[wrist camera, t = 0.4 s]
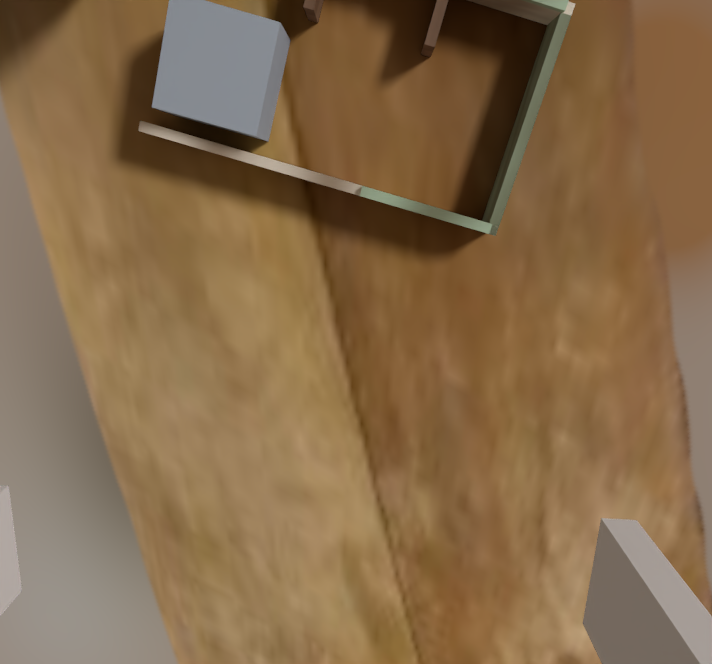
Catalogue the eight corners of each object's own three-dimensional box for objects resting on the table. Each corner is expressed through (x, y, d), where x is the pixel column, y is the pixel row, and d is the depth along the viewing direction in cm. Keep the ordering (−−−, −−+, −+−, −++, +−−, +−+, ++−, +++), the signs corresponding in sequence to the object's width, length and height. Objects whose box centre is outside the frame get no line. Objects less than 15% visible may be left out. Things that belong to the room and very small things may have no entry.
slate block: (175, 115, 35) (151, 107, 31) (193, 13, 34) (170, -10, 30) (268, 141, 36) (256, 136, 32) (290, 40, 34) (280, 22, 30)
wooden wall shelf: (154, 134, 35) (135, 130, 33) (196, -97, 32) (179, -124, 29) (487, 232, 36) (496, 236, 33) (560, 17, 33) (578, 1, 30)
